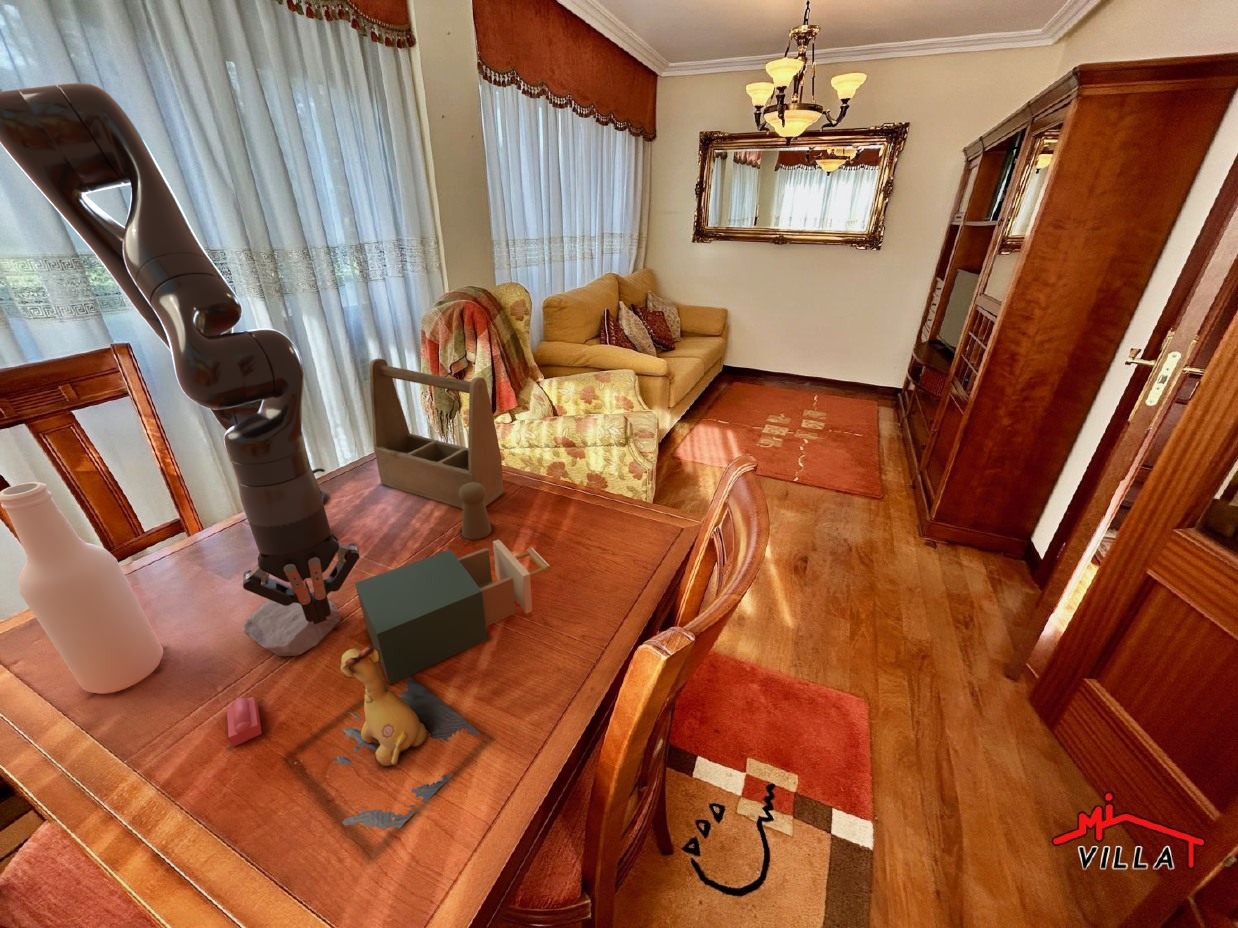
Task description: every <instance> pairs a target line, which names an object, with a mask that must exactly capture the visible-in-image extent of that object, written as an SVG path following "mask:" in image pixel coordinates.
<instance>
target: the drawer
mask: <svg viewBox="0 0 1238 928" xmlns="http://www.w3.org/2000/svg"><path fill="white" fill-rule="evenodd" d="M492 550H493V560H494V569H495V577H496V579H497V580H498V581H495V582H494V580H493V578H492V577H493V576H492V568H491V559H490V558H491V557H490V550H489V548H488V547H484V548H482V549H479V550H477V551H473V552H470V553H468V554H466V555H463V556H460V557H457V559H458V560H459V561H460V563H461V564H462V565H463V567H464V568H465V569H466V571H467V572H468V573H469V575H470V576H471V577H472V579H473V580H474V581H475V583H476V584H477V585H478V587H479V588H480V589H481V591H482V596H483V605H484V613H485V622H486V627H488V626H491V625H492V624H495V623H497V622H500V621H501V620H504V619H506V618H508V617H510V616H512V615H514V614H516V613H517V611H516V604H517V605H518V606H519V607H520V608H521V610H522V611H523V612H524V613H525V614H526V615H527V614H529V613H531V612H533V601H532V586H531V578H532V577H535V576H537V575H540V574H542V573H544V574H548V573H550V572H551V571H552V567H551V565H550V564H549V563H548V562H547V560H545V559H544V558H543V557H542V556H541V555H540V554H539V553H538V552H537V551H536V549H534V548H533V547H528V548H527V549H526V551H525V552H522V553H519V554H516V555H514V554H513V553H512V552H511V551H510V550H509V549H508V547H506V545H505V544H504V543H503V542H502V541H501V540H500V539H496V540H493V541H492ZM526 557H529V558H530V559H531V560H532V561H533V562H534V563H535V564H536V565H537V566H538V567H539V568H537V569H535V570H532V571H530V572H529V571H528V570H527V569H526V567H525V566H524V565H522V563H521V562H520V561H519V560H521V559H523V558H526Z"/></svg>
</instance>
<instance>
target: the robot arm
mask: <svg viewBox="0 0 1238 928" xmlns="http://www.w3.org/2000/svg"><path fill="white" fill-rule="evenodd" d="M0 145H1V146H2V148H3V149H4V150H5V151H6V153H7V154H8V155H9V156H10V158H11V159H12V160H13V161H14V162H15V164H16V165H17V166H18V167H19V168H20V169H21V171H22V172H23V173H24V174H25V175H26V176H27V177H28V179H29V180H30V181H31V182H32V183H33V184H34V186H36V188H37V189H38V190H39V191H40V192H41V194H42V195H43V196H44V197H45V198H46V199H47V200H48V201H49V203H50V204H52V206H53V207H54V209H55V210H56V211H57V212H58V213H59V214H60V215H61V216H62V217H63V219H64V220H65V221H66V222H67V224H69V225H70V227H71V228H72V229H73V230H74V231H75V232H76V233H77V235H79V237H80V239H81V240H82V241H83V242H84V243H85V244H86V245H87V246H88V248H89V249H90V250H91V251H92V252H93V254H95V257H97V259H98V260H99V261H100V262H101V264H102V265H103V266H104V268H105V269H106V270H107V272H108V273H109V275H110V276H111V278H113V280H114V281H115V282H116V284H117V285H118V287H119V288H120V289H121V291H122V292H123V293H124V295H125V296H126V298H127V299H128V300H129V302H130V303H131V305H132V306H133V308H134V309H135V310H136V311H137V312H138V314H139V315H140V316H141V318H142V319H143V320H144V321H145V322H146V324H147V325H148V326H149V327H150V329H151V330H152V331H153V333H154V334H155V336H157V337H158V338H159V339H160V340H161V342H162V343H163V344H164V346H166V348H167V349H168V350H169V352H170V353H171V357H172V363H173V368H174V374H175V376H176V377H175V378H176V379H177V383H178V385H179V388H180V389H181V391H182V392H183V393H184V395H185V396H186V397H187V398H188V399H189V400H191V401H192V402H193V403H195V404H197V405H198V406H201V407H203V408H205V409H209V410H210V412H211V413H212V415H213V416H214V418H215V419H216V421H217V422H218V424H219V425H220V426H221V427H222V428H223V429H224V430H225V431H226V432H225V433H224V437H223V443H224V448H225V450H226V453H227V456H228V459H229V462H230V465H231V467H232V471H233V474H234V476H235V479H236V482H237V486H238V487H237V488H238V492H239V498H240V501H241V504H242V507H243V510H244V513H245V516H246V518H247V523H248V524H249V528H250V530H251V533H252V535H253V538H254V541H255V544H256V547H257V550H258V552H259V555H258V556H257V565H256V566H255V567H254V568H252V569H249V570H246V571H245V572H244V573H243V582H242V583H243V584H242V587H243V589H244V590H245V591H248V592H250V593H253V594H255V595H257V596H260V597H262V598H265V599H266V600H268V601H270V600H272V601H274V602H277V603H279V604H281V605H284V606H289V605H291V604H292V603H299V604H301V606H302V609H303V612H304V615H305V618H306V620H307V621H308V622H311V621H313V623H314V625H315V624H318V623H320V622H324V621H327V619H326V617H327V616H330V613H331V610H330V605H329V601H330V600H329V599H328V595H329V594H330V593H332V592H337V591H339V590H340V589H341V587H342V586H343V584H344V583H345V581H346V580H347V578H348V577H349V575H350V573H352V570H353V569H354V567H355V564H357V562H358V560H359V559H360V552H359V548H358V545H357V544H356V543H354V542H350V543H348V544H345V543H342V542H339V539H338V538H337V537H336V536H335V535H334V534H333V533H332V531H331V526H330V523H329V520H328V515H327V512H326V508H325V505H324V503H325V502H326V500H327V493H325V492H324V491H322V490H321V488H320V487H319V483H318V480H317V478H316V475H315V474H316V473H319V472H321V473H324V472H326V470H325V469H324V468H322V467H321V468H319V467H318V468H315V469H312V466H311V462H310V460H309V459H310V458H309V456H308V452H307V448H306V441H305V437H304V434H303V433H304V432H303V427H302V424H303V421H302V420H303V396H304V384H305V370H304V364H303V360H302V359H303V358H302V356H301V354H300V352H299V350H298V348H297V347H296V345H295V343H294V342H293V341H292V340H291V339H290V338H289V337H288V336H286V335H285V334H284V333H283V332H280V331H278V330H276V329H273V328H257V329H250V330H244V331H237V332H235V331H234V327H236V326H237V325H238V324H239V322H240V321H241V319H242V316H243V307H242V304H241V302H240V300H239V298H238V296H237V294H236V293H235V292H234V290H233V289H232V287H231V286H230V285H229V283H228V281H227V280H226V278H224V276H223V275H222V273H221V272H220V270H219V269H218V268H217V266H216V265H215V263H214V262H213V261H212V259H211V258H210V257H209V255H208V254H207V252H206V250H205V249H204V247H203V246H202V245H201V243H200V241H199V239H198V237H197V236H196V234H195V232H194V230H193V229H192V227H191V225H190V223H189V221H188V219H187V217H186V214H185V213H184V211H183V208H182V206H181V205H180V203H179V201H178V199H177V197H176V195H175V193H174V191H173V190H172V188H171V186H170V184H169V182H168V181H167V179H166V177H165V175H164V173H163V171H162V170H161V168H160V166H159V165H158V163H157V161H156V160H155V157H154V156H153V154H152V152H151V150H150V148H149V147H148V145H147V144H146V142H145V140H144V138H143V137H142V135H141V134H140V132H139V131H138V129H137V128H136V125H134V123H133V122H132V120H131V118H129V116H128V115H127V113H126V112H125V110H124V109H123V108H122V106H120V104H118V102H117V101H116V100H115V99H114V98H113V97H112V96H111V95H110V94H109V93H108V92H106V91H105V90H104V89H102V88H100V87H99V86H96V85H94V84H92V83H91V84H90V83H79V82H77V83H63V84H62V83H61V84H57V85H55V84H54V85H46V86H36V87H28V88H19V89H11V90H5V91H0ZM123 186H130V189H131V191H130V203H129V209H128V214H127V218H126V221H125V225H122V224H120V223H119V222H118V221H116V220H115V219H114V218H112V216H110V215H109V214H108V213H106V211H103V209H101V208H100V207H99V206H98V205H97V204H95V202H93V201H92V200H91V199H90V198H89V197H88V196H87V195H86V194H91V193H96V192H100V191H105V190H109V189H114V188H120V187H123ZM335 557H337V562H336V563H335V564H334V566H333V568H332V569H331V571H330V573H329V574H328V576H327V577H326V578H325V579H324V576H323V575H324V573H325V572H326V571H327V570H328V569H329V567H330V565H331V563H332V562H333V560H334V558H335ZM270 575H271V576H273V577H275V578H277V579H279V580H281V581H283V582H286V583H289V584H290V586H289V585H287V584H284V583H282V582H280V581H278V580H275V579H273V578H271V577H270ZM307 579H311V583H312V588H313V589H312V590H313V592H311V590H310V585H309V584H308V582H307ZM328 600H329V601H328Z"/></svg>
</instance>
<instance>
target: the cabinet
mask: <svg viewBox="0 0 1238 928" xmlns="http://www.w3.org/2000/svg"><path fill="white" fill-rule="evenodd" d="M457 558H458V557H457V556H456V555H455V553H454V552H453V551H452V549H447V550H444V551H442V552H439V553H436V554H432V555H430V556H427V557H425V558H422V559H419V560H416V561H413V562H410V563H407V564H404V565H402V566H399V567H395V568H393V569H390V570H387V571H385V572H382V573H378V574H376V575H373V576H370V577H367V578H364V579H361V580H358V581H356V582H354V586H355V589H356V593H357V597H358V600H359V601H358V602H359V605H360V608H361V613H362V616H363V620H364V623H365V627H366V632H367V633H368V636H369V638H370V641H371V644H372V647H373V649H378V650H379V654H380V660H379V661H378V662H379V663H380V666H381V668H382V670H383V673H384V675H385V678H386V681H387V683H388V685H389V686H391V685H393V684H395V683H397V682H400V681H402V680H405V679H406V678H408V676H409V677H411V676H413V675H415V674H417V673H418V672H422V671H423V670H425V669H427V668H430V667H432V666H434V665H436V664H438V663H440V662H443V661H444V660H446V659H447V660H448V658H449V659H450V658H451V657H453V656H455V655H457V654H459V653H461V652H464V651H465V650H467V649H470V648H472V647H474V646H476V645H478V644H481V643H483V642H484V641H487V640H488V632H487V631H488V630H487V626H486V622H485V613H484V605H483V596H482V591H481V589H480V588H479V587H478V585H477V584H476V583H475V581H474V580H473V579H472V577H471V576H470V575H469V573H468V572H467V571H466V569H465V568H464V567H463V565H462V564H461V563H460V561H459V560H458V559H457Z"/></svg>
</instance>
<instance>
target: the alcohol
mask: <svg viewBox="0 0 1238 928" xmlns="http://www.w3.org/2000/svg"><path fill="white" fill-rule="evenodd" d="M52 496H53V495H52V492H51V491H49V490H48V485H47V484H46V483H44V482H39V481H29V482H23V483H18V484H14V485H11V486H8V487H6V488H4V489H2V490H1V491H0V506H1V508H2V509H3V510H5V511H6V514H7V516H8V518H9V521H10V522H11V524H12V527H13V529H14V531H15V534H16V535H17V537H18V539H19V543H20V544H21V546H22V549H23V551H24V553H25V555H26V563H25V564H24V566H23V568H22V570H21V571H20V574H19V575H18V578H17V581H18V582H17V583H18V588H19V593H20V596H21V597H22V598H23V599H24V602H25V603H26V605H27V606H28V608H29V609H30V611H31V612H32V614H33V615H34V617H35V619H36V620H37V621H38V623H39V625H40V626H41V628H42V629H43V631H44V632H45V634H46V635H47V638H49V640H50V641H51V643H52V645H53V646H54V647H55V649H56V652H58V654H59V655H60V657H61V659H62V660H63V662H64V663H65V665H66V666H67V668H68V669H69V671H70V672H71V674H72V676H73V677H74V679H75V680H76V682H77V683H78V685H79V686H80V688H81V689H82V690H83V691H86V692H89V693H94V694H98V695H102V694H103V695H104V694H105V695H106V694H113V693H117V692H121V691H123V690H125V689H128V688H130V687H132V686H134V685H136V684H138V683H140V682H141V681H143V680H145V679H146V678H147V677H148V676H150V675H151V674H152V673H153V672H154V671H156V669H157V668H158V666H159V665H160V663H161V660H162V658H163V655H164V649H163V646H162V644H161V642H160V640H159V639H158V636H157V635H156V632H155V631H154V629H153V627H152V624H151V623H150V620H149V619H148V617H147V615H146V614H145V612H144V609H143V607H142V606H141V604H140V602H139V600H138V598H137V596H136V594H135V592H134V589H133V588H132V586H131V584H130V582H129V581H128V578H127V577H126V575H125V573H124V571H123V569H122V567H121V565H120V562H119V561H118V559H117V558H116V557H115V556H114V555H113V554H112V553H111V552H110V551H109V550H107V549H106V548H104V547H102V546H100V545H98V544H97V545H96V544H94V543H90V542H86V541H85V540H83V539H82V538H81V537H80V536H79V535H78V533H77V531H76V530H75V528H74V527H73V526H72V524H71V523H70V521H69V520H68V519H67V517H66V516H65V514H64V513H63V512H62V511H61V509H60V507H59V506H58V505H57V503H56V502H55V499H53V497H52Z"/></svg>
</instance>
